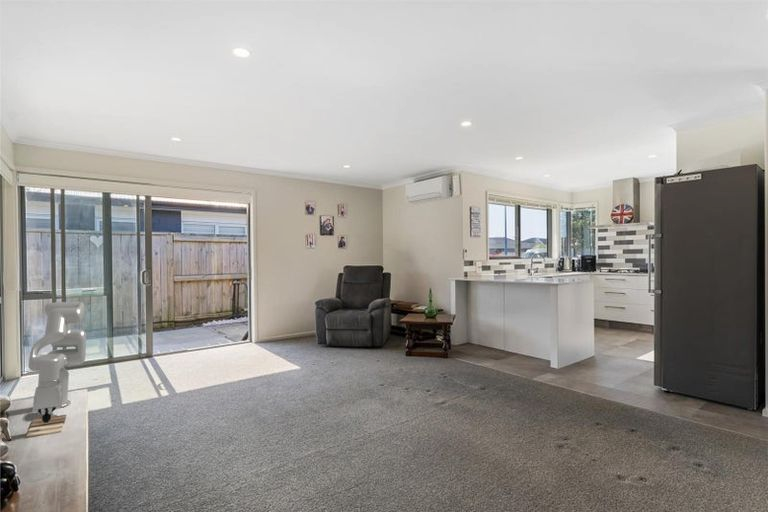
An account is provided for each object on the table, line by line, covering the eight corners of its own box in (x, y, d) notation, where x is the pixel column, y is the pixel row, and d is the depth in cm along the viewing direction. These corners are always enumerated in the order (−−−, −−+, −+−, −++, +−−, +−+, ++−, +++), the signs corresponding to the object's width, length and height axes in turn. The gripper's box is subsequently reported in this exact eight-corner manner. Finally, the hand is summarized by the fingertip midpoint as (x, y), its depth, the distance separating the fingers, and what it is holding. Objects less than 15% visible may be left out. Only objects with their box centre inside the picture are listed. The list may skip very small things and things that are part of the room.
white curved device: (58, 418, 202) (50, 401, 200) (46, 423, 199) (38, 406, 198) (59, 408, 215) (52, 392, 214) (48, 413, 213) (41, 397, 211)
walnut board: (33, 422, 196) (33, 418, 196) (66, 417, 203) (66, 413, 204) (29, 430, 187) (29, 426, 187) (64, 425, 194) (64, 421, 194)
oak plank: (30, 431, 186) (30, 427, 186) (63, 425, 193) (63, 422, 193) (26, 439, 177) (26, 436, 177) (61, 433, 184) (61, 430, 184)
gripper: (69, 379, 194) (67, 416, 193) (29, 383, 185) (26, 422, 185) (67, 383, 188) (65, 421, 187) (26, 388, 179) (23, 428, 179)
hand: (46, 421), depth 186 cm, fingers closed
